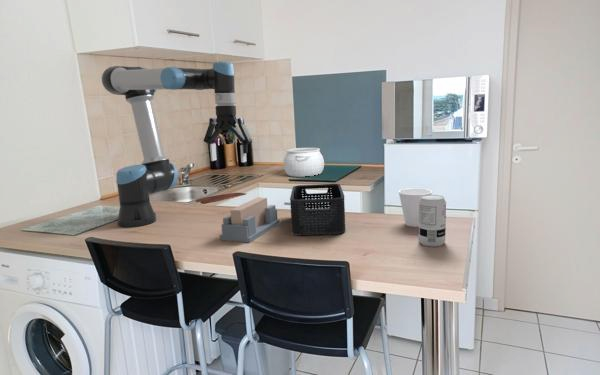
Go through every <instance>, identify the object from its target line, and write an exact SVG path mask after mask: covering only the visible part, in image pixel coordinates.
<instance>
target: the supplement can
mask: <svg viewBox="0 0 600 375" xmlns="http://www.w3.org/2000/svg"><path fill="white" fill-rule="evenodd" d="M446 219H447V201H446V200H445V196H443V195H439V194H431V195H424V196H421V199H420V200H419V220H418V230H417V231H418V234H417V235H418V236H417V237H418V242H419V243H420V244H421V245H422V246H426V247H441V246H443V245H444V243H446V225H447V224H446V223H447V220H446Z"/></svg>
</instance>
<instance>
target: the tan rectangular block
mask: <svg viewBox="0 0 600 375" xmlns="http://www.w3.org/2000/svg"><path fill="white" fill-rule="evenodd" d="M266 207H268V198H267V197H256V198H254V199H251V200H249V201H247V202H243V203H242V204H240V205H237V206H235V207H234V208H232V209H230V215H231V223H232V225H242V226H243V219H245V218H247V217H249V216H255V226H256V227H258V226H259V225H261V224H263V223H265V222H266V219H265V208H266Z"/></svg>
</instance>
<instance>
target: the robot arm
mask: <svg viewBox="0 0 600 375" xmlns="http://www.w3.org/2000/svg"><path fill="white" fill-rule="evenodd" d="M101 84H102V86H103V87H104V89H105V90H106V91H107V92H108V93H110V94H113V95H117V96H124V98H125V101H126V102H127V103H128V104H130V107H131V110H132V114H133V120H134V123H135V128H136V132H137V136H138V140H139V143H140V144H139V145H140V148H141V152H142V157H143V161H141V163H140V164H134V165H128V166H124V167H122V168H119V169H118V170H117V171H116V174H115V175H116V179H115V181H116V184H117V191H118V192H117V193H118V201H119V211H118V217H117V226H119V227H121V228H122V227H123V228H134V227H143V226H146V225H151V224H153V223H154V222H156V221H157V214H156V212H154V209H153V206H152V204H151V202H150V201H151V200H150V199H151V198H150V195H151V194H155V193H160V192H165V191H168V190H172V189H173V188H174V187H175V186H176V184H177V182H178V179H179V172H178V169H177V167H176V166H175V165H174V164H173V163H171V162H170V160H169V157H167V156H166V155H165V154H164V153H165V152H164V148H163V145H162V140H161V139H162V138H161V137H160V136H161V135H160V132H159V126H158V122H157V117H156V115H155V114H156V113H155V110H154V109H155V108H154V106H153V100H154V98H155V94H156V91H157V90H172V91H173V90H174V91H175V90H176V91H177V90H194V91H195V90H197V91H203V90H214V91H213V92H214V104H215V105H216V106H215V116H216V118H215V117H210V118H209V119H208V120H209V121H208V126H207V129H206V133H205V135H204V137H203V142H204V143H207V146H208V152H209V153H210V161H211V162H214V161H217V145H216V143H215V141H216V140H217V139H218V136H220V134H221V132H222V131H231V132H232V133H233V134H234V135H235V136H236V137H237V139H238V141H240V146H239V148H240V162H241V163H247V154H248V152H249V150H248V148H249V145H250V144H251V143H252V142H253V140H252V138H251V135H250V133H249V131H248V129H247V127H246V125H245V121H244V120H245V119H244V118H243V117H238V118H237V106H236V103H237V102H236V101H237V100H236V90H235V88H236V87H235V69H234V64H233V63H232V62H230V61H229V62H228V61H214V62H213V63H212V68H192V67H191V68H190V67H189V68H188V67H186V68H185V67H176V66H170V67H169V66H168V67H164V68H163V67H162V68H160V67H159V68H158V67H157V68H146V67H142V66H125V65H124V66H121V65H113V66H110V67H107V68H105V70H104V71H103V73H102V75H101ZM216 124H217V126H216Z"/></svg>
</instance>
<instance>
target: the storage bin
mask: <svg viewBox="0 0 600 375" xmlns="http://www.w3.org/2000/svg"><path fill="white" fill-rule="evenodd" d="M310 189H311V190H312V189H313V190H314V189H317V190H318V189H327V192H317V193H315V192H314V193H307V191H306V190H310ZM289 202H290V220H291V221H290V222H291V234H292V235H296V236H317V235H318V236H319V235H320V236H323V235H325V236H326V235H337V234H343V233H345V232H346V215H345V214H346V213H345V212H346V207H345V206H346V204H345V195H344V191H343V189H342V186H341V184H339V183H325V184H324V183H323V184H322V183H321V184H301V185H294V186H292V189H291V194H290V197H289Z"/></svg>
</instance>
